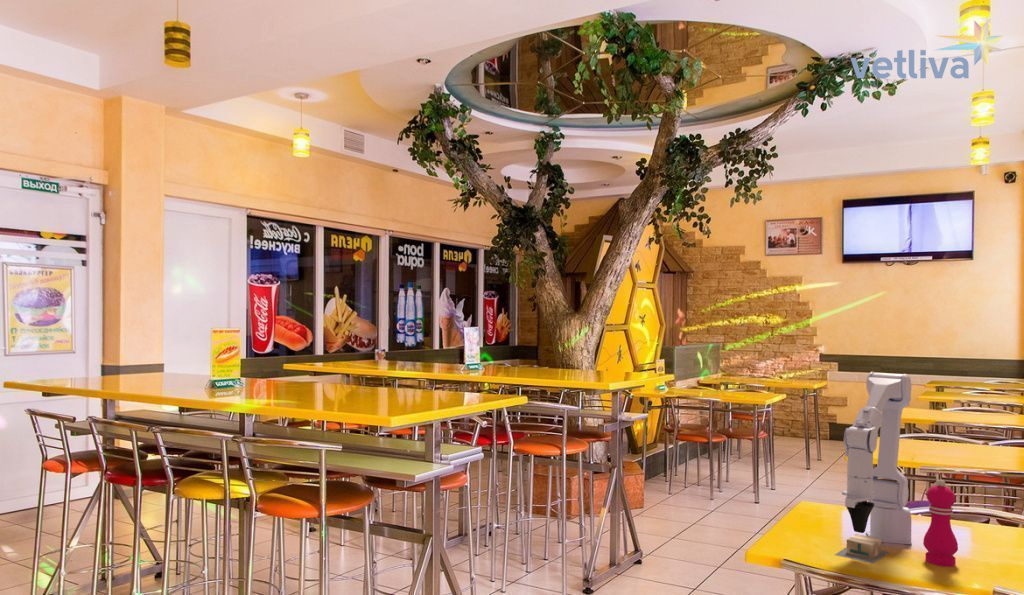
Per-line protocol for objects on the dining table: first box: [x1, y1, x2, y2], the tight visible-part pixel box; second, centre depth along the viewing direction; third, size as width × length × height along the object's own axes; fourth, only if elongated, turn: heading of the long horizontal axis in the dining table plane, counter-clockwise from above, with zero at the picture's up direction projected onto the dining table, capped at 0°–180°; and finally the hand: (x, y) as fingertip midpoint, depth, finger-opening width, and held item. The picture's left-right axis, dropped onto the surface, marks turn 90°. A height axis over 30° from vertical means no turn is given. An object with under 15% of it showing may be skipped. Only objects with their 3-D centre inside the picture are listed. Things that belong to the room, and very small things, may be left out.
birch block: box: [846, 533, 882, 558], centre depth 182 cm, size 3×6×7 cm
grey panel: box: [834, 546, 890, 565], centre depth 181 cm, size 13×9×1 cm
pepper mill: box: [922, 479, 959, 568], centre depth 176 cm, size 7×7×20 cm
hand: (859, 531), depth 180 cm, fingers closed
